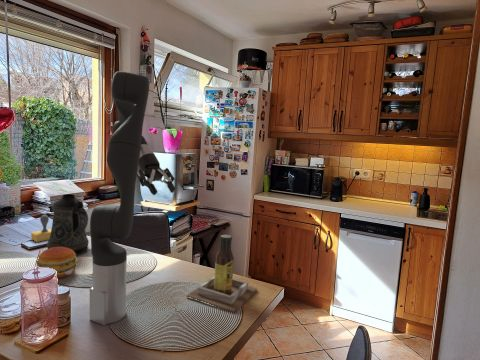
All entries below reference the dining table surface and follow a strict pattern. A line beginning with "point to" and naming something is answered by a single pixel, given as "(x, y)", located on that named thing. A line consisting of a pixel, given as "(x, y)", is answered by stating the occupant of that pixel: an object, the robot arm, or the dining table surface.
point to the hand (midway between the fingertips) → (164, 192)
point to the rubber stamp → (42, 231)
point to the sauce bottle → (224, 266)
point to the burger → (58, 260)
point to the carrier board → (221, 300)
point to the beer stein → (69, 225)
